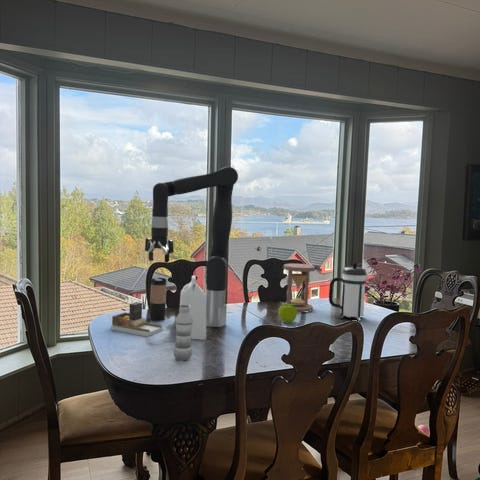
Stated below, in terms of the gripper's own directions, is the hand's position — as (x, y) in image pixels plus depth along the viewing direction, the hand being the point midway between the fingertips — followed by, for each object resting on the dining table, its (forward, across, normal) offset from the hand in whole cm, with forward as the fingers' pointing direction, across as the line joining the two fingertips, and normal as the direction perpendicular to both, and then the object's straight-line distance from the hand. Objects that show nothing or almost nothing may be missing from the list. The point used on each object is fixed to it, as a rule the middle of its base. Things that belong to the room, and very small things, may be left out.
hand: (158, 261), depth 214 cm
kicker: (+28, +4, +11) cm, 31 cm away
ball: (+27, +9, +11) cm, 30 cm away
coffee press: (+30, -75, -69) cm, 106 cm away
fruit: (+30, -50, -41) cm, 71 cm away
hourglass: (+30, -45, -72) cm, 90 cm away
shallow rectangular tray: (+30, +3, +11) cm, 32 cm away
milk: (+30, -22, +5) cm, 38 cm away
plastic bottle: (+30, -35, +33) cm, 57 cm away
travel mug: (+30, +6, -9) cm, 32 cm away
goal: (+29, +11, +11) cm, 32 cm away
